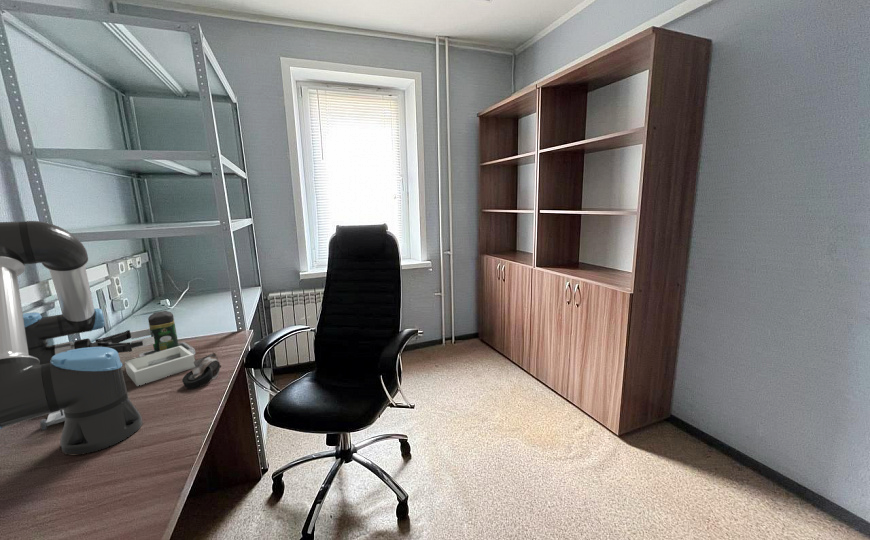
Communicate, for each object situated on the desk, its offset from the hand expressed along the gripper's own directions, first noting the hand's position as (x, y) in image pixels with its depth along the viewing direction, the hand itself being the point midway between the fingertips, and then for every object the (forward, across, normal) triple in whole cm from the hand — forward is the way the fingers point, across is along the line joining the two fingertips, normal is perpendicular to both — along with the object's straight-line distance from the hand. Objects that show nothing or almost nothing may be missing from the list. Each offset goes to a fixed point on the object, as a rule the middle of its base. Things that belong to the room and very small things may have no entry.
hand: (153, 335), depth 134 cm
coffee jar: (+3, +1, -10) cm, 11 cm away
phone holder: (-21, +30, -11) cm, 38 cm away
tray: (0, +14, -10) cm, 17 cm away
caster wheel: (+10, +35, -10) cm, 38 cm away
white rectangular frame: (+3, +1, -10) cm, 10 cm away
